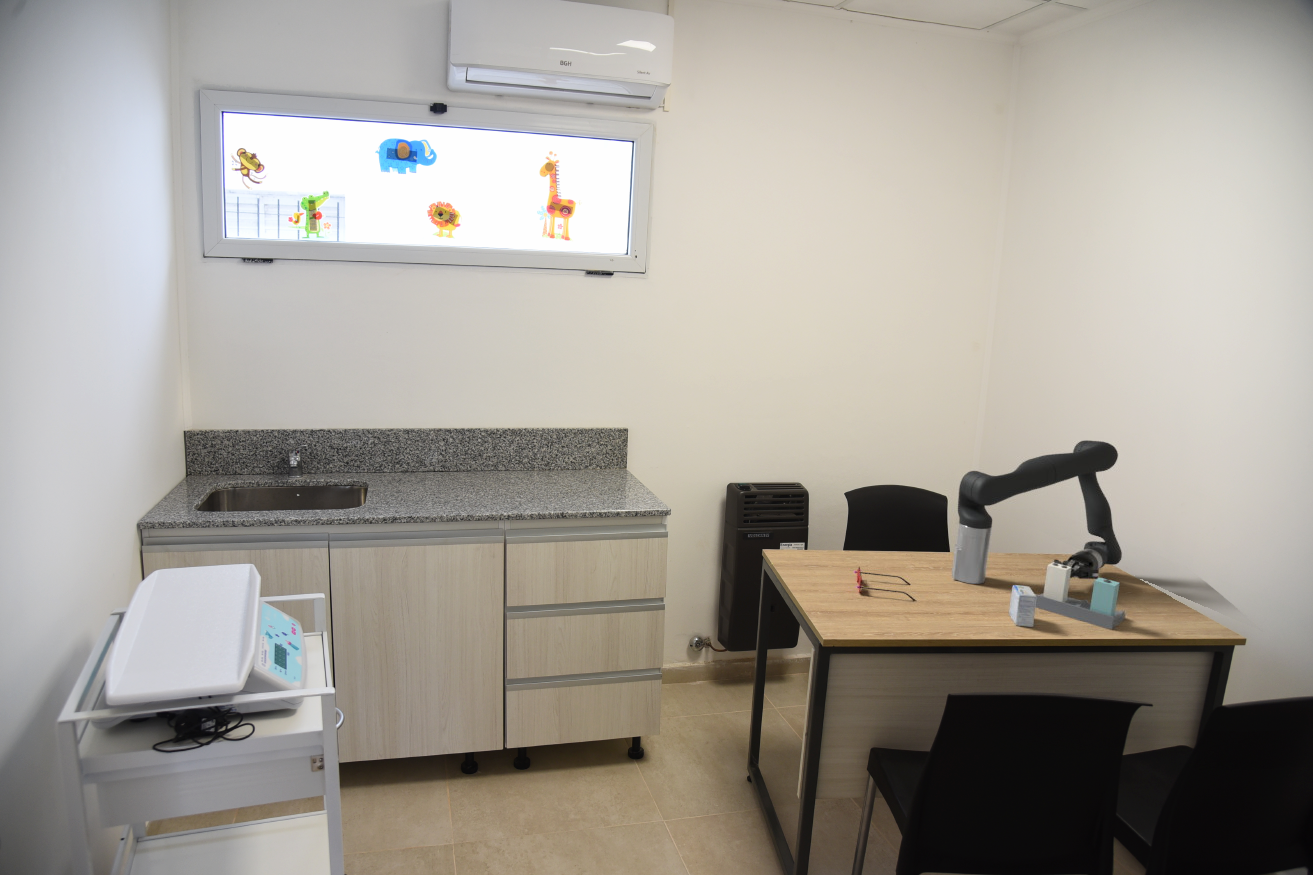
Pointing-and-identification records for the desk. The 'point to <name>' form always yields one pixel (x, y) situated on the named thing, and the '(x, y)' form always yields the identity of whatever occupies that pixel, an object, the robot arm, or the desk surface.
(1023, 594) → the medicine box
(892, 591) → the glasses
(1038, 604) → the gray divided tray
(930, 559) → the desk surface
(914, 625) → the desk surface
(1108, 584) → the teal block
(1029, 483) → the robot arm
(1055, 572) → the white battery block
